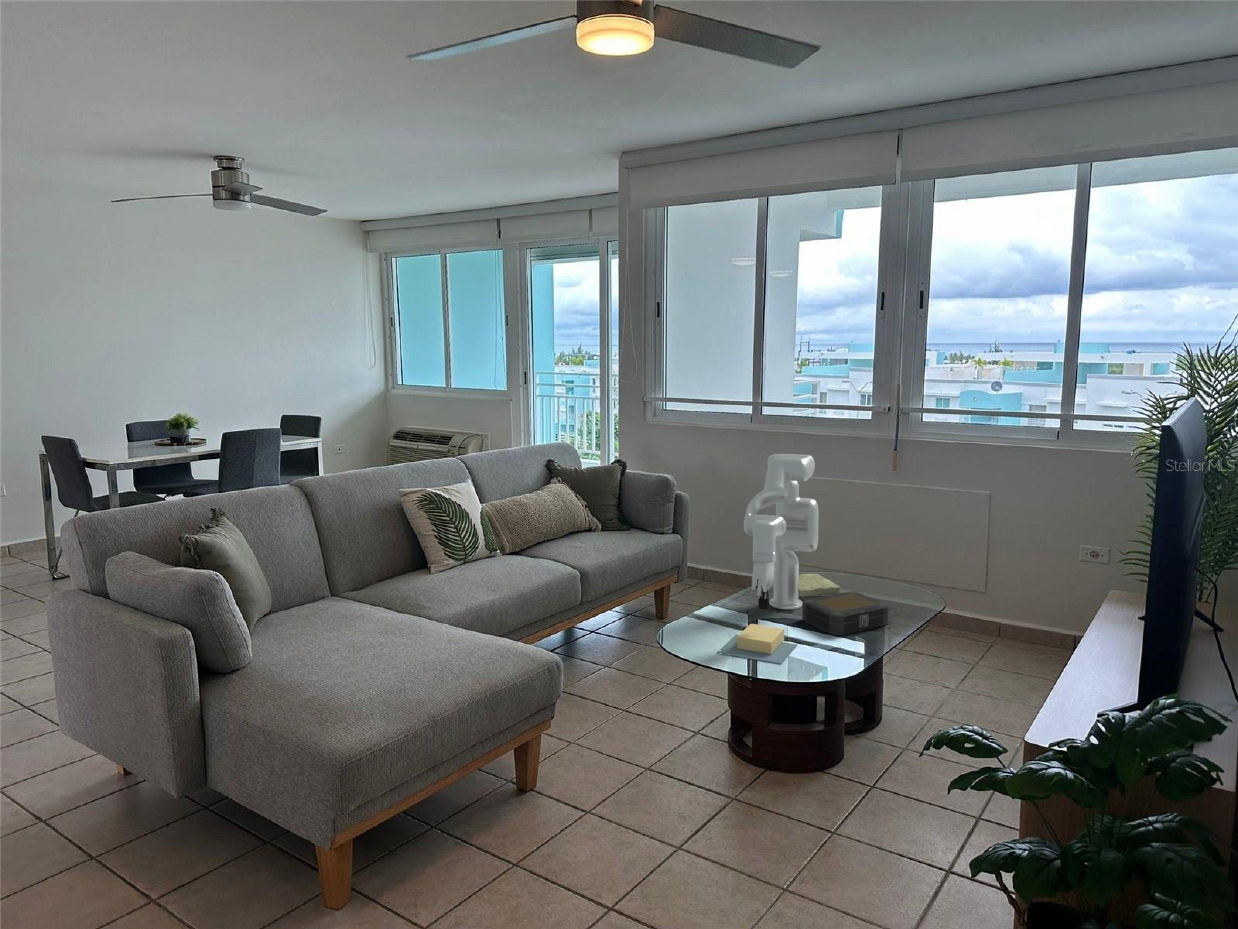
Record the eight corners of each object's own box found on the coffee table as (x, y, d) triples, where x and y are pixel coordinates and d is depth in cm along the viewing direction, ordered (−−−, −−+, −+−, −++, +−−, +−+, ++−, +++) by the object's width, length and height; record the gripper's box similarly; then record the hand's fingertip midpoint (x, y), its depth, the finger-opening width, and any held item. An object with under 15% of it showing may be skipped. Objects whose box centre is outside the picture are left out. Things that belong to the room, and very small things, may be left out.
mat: (735, 635, 292) (735, 634, 292) (797, 645, 282) (797, 644, 282) (716, 653, 277) (716, 652, 277) (781, 664, 267) (781, 663, 266)
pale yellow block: (750, 623, 291) (736, 636, 279) (784, 628, 285) (771, 642, 273) (750, 635, 291) (736, 649, 279) (784, 640, 286) (771, 654, 274)
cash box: (837, 638, 289) (837, 616, 288) (800, 620, 307) (800, 600, 306) (891, 625, 300) (892, 605, 298) (853, 609, 318) (853, 590, 317)
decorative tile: (816, 579, 357) (816, 571, 356) (840, 593, 338) (841, 585, 337) (777, 584, 352) (777, 576, 352) (799, 598, 333) (799, 589, 332)
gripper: (760, 550, 289) (760, 601, 291) (746, 560, 276) (745, 614, 278) (781, 552, 285) (781, 603, 288) (767, 563, 272) (767, 617, 275)
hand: (763, 608), depth 283 cm, fingers closed
